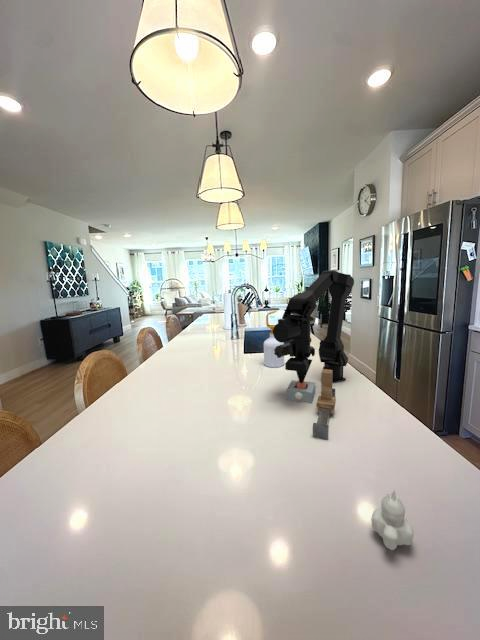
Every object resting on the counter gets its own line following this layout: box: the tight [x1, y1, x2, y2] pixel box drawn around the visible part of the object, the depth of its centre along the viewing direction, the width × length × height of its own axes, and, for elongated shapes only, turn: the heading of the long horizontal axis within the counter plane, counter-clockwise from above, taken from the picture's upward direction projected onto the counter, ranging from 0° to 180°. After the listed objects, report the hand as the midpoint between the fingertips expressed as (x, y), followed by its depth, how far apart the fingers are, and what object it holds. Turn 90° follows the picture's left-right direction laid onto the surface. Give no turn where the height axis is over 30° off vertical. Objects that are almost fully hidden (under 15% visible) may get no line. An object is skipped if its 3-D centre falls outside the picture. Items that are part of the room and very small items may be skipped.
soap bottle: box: [263, 309, 285, 368], centre depth 118 cm, size 9×9×25 cm
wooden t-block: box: [315, 368, 337, 415], centre depth 77 cm, size 5×5×11 cm
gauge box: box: [285, 379, 316, 404], centre depth 88 cm, size 8×8×4 cm
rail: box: [312, 387, 336, 441], centre depth 76 cm, size 24×4×3 cm, turn 156°
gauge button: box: [296, 380, 307, 389], centre depth 88 cm, size 3×3×4 cm
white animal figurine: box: [371, 489, 414, 551], centre depth 40 cm, size 5×7×8 cm
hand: (301, 382), depth 88 cm, fingers closed, pressing on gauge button
